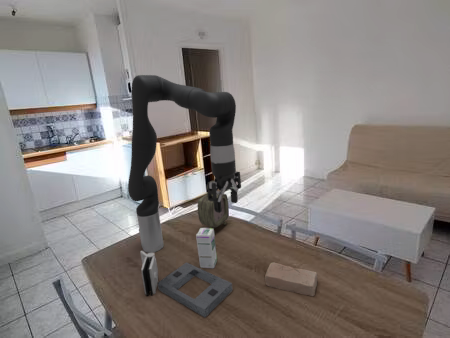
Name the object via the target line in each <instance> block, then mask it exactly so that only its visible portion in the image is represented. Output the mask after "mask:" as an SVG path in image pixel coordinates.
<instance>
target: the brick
mask: <svg viewBox="0 0 450 338" xmlns="http://www.w3.org/2000/svg"><path fill="white" fill-rule="evenodd" d="M264 281H265V285H266V286H268V287H270V288H275V289H277V290H282V291H286V292H287V291H288V292H291V293H297V294H301V295H304V296H310V297H314V296H315V294H316V290H317V287H318V274H317V272H316V271H311V270H308V269H304V268H295V267H292V266H289V265H284V264H281V263H277V262H274V261H273V262H271V263H270V264H269V266H268V268H267V270H266V273H265V275H264Z"/></svg>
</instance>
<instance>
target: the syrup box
mask: <svg viewBox="0 0 450 338" xmlns="http://www.w3.org/2000/svg"><path fill="white" fill-rule="evenodd" d="M214 229H215V228H214V227H213V228H210V227H200V228H199V230H198V232H197V233H196V234H195V238H196V246H197V254H198V260H199V268H200V269H201V268H202V269H203V268H204V269H214V268H215V267H216V264H217V262H218V256H217V245H216V235H215V233H214V232H215V230H214Z"/></svg>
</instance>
